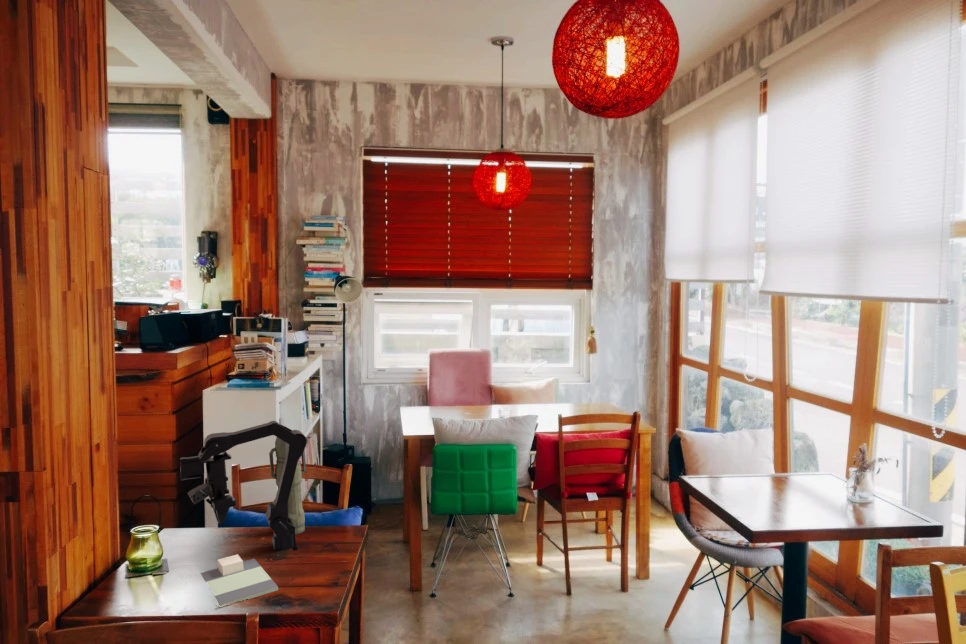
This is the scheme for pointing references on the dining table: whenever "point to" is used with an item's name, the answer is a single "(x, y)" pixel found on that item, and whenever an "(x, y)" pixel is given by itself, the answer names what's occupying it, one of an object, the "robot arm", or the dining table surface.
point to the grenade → (295, 495)
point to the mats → (242, 591)
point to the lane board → (240, 583)
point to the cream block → (230, 565)
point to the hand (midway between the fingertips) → (220, 522)
